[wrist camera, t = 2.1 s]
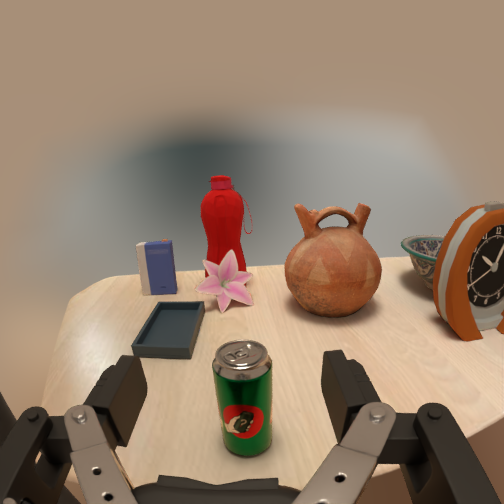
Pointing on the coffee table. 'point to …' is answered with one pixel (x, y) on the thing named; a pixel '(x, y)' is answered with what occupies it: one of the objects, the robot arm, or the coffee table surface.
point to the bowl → (424, 254)
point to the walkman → (157, 267)
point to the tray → (170, 331)
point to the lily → (226, 282)
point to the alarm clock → (472, 272)
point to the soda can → (244, 395)
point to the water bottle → (223, 221)
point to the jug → (333, 263)
